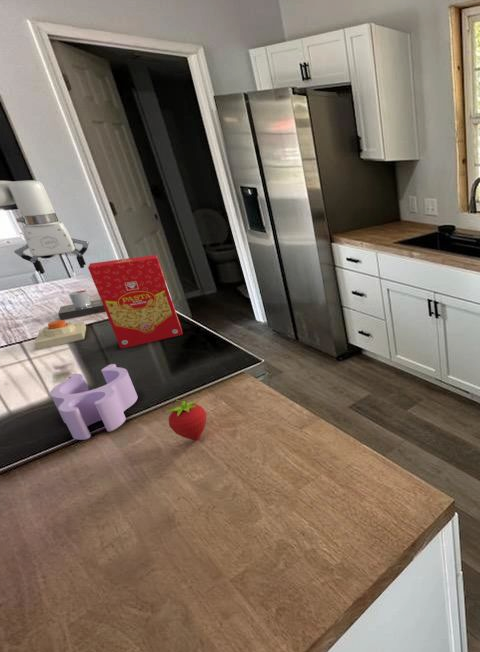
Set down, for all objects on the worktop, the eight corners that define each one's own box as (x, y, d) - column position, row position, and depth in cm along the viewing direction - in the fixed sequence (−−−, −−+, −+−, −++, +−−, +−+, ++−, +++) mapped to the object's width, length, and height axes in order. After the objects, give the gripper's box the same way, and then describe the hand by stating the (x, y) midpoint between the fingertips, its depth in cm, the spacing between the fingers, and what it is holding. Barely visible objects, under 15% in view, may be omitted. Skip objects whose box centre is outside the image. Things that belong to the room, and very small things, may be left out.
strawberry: (180, 456, 79) (164, 413, 75) (174, 438, 84) (158, 397, 80) (217, 442, 83) (202, 400, 79) (209, 425, 88) (195, 385, 84)
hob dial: (73, 308, 145) (67, 294, 143) (74, 305, 148) (68, 291, 146) (91, 305, 147) (85, 291, 145) (91, 302, 150) (86, 288, 148)
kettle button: (66, 327, 127) (63, 322, 126) (49, 330, 125) (47, 325, 124) (67, 324, 130) (64, 319, 129) (50, 327, 127) (48, 322, 127)
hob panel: (60, 320, 142) (57, 313, 141) (63, 312, 148) (60, 306, 147) (107, 311, 149) (105, 304, 148) (108, 304, 155) (105, 298, 154)
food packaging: (120, 348, 121) (87, 267, 112) (121, 342, 125) (90, 263, 116) (182, 334, 130) (157, 258, 121) (181, 329, 134) (156, 254, 125)
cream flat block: (84, 339, 127) (79, 327, 126) (37, 349, 121) (31, 337, 120) (86, 327, 136) (81, 316, 134) (42, 336, 130) (37, 324, 128)
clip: (138, 422, 89) (126, 395, 86) (56, 448, 81) (41, 420, 79) (137, 384, 103) (127, 360, 100) (67, 404, 95) (54, 378, 93)
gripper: (-2, 225, 126) (23, 278, 133) (77, 218, 137) (96, 267, 143) (3, 222, 132) (27, 273, 138) (78, 215, 142) (98, 263, 148)
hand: (63, 270), depth 140 cm, fingers open, 9 cm apart
